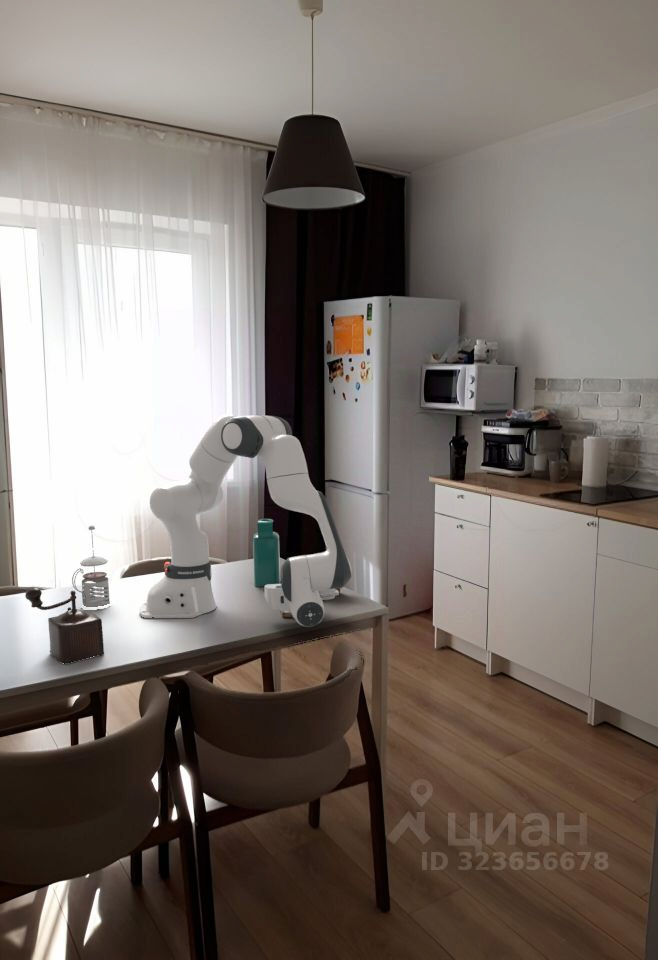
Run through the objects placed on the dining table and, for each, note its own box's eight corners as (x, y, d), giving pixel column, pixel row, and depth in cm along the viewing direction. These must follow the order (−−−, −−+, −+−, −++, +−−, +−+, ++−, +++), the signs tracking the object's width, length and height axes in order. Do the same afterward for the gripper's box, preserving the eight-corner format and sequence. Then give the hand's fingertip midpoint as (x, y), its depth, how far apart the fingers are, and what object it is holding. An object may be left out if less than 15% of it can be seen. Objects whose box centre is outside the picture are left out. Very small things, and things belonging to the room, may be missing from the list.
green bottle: (255, 580, 250) (253, 517, 247) (280, 579, 251) (278, 516, 248) (254, 588, 241) (251, 522, 238) (279, 587, 241) (278, 521, 238)
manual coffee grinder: (88, 643, 193) (84, 576, 190) (105, 654, 184) (101, 585, 182) (27, 657, 183) (22, 587, 181) (42, 670, 175) (36, 597, 172)
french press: (118, 605, 225) (113, 525, 221) (81, 614, 217) (75, 531, 214) (105, 598, 232) (100, 521, 229) (69, 606, 225) (63, 526, 222)
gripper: (340, 583, 204) (332, 571, 217) (266, 588, 201) (262, 575, 214) (340, 605, 204) (332, 592, 218) (266, 610, 201) (263, 596, 215)
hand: (297, 583), depth 216 cm, fingers open, 7 cm apart
